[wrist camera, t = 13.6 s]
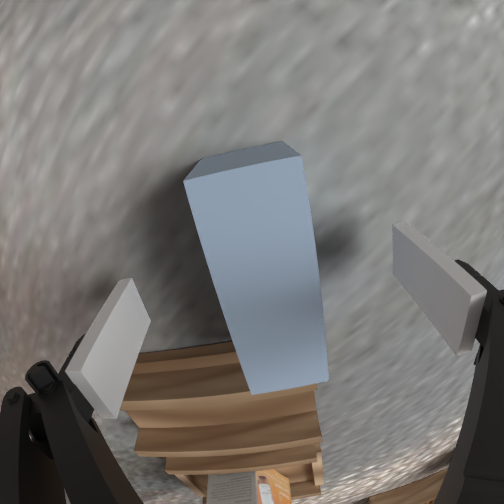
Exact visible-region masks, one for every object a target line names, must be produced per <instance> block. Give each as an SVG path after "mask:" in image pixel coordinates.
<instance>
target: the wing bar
mask: <svg viewBox="0 0 504 504" xmlns="http://www.w3.org/2000/svg"><path fill="white" fill-rule="evenodd" d="M183 183H184V186H185V190H186V193H187V197H188V201H189V204H190V208H191V211H192V214H193V218H194V221H195V225H196V228H197V231H198V235H199V238H200V241H201V245H202V248H203V251H204V255H205V258H206V261H207V264H208V268H209V271H210V274H211V277H212V280H213V283H214V287H215V290H216V293H217V296H218V299H219V302H220V305H221V308H222V311H223V314H224V317H225V320H226V323H227V326H228V329H229V332H230V335H231V338H232V341H233V344H234V347H235V350H236V353H237V356H238V358H239V361H240V364H241V367H242V370H243V373H244V375H245V378H246V381H247V384H248V387H249V389H250V392H251V395H255V394H262V393H268V392H274V391H280V390H285V389H290V388H296V387H301V386H306V385H310V384H315V383H320V382H324V381H329V376H328V362H327V349H326V337H325V326H324V316H323V306H322V296H321V287H320V278H319V270H318V262H317V254H316V246H315V239H314V232H313V224H312V218H311V211H310V204H309V198H308V191H307V185H306V179H305V173H304V167H303V162H302V156H301V155H300V154H299V153H298V152H296V151H295V150H294V149H292V148H291V147H290V146H288V145H287V144H286V143H284V142H283V141H282V142H277V143H271V144H266V145H261V146H256V147H251V148H247V149H242V150H237V151H233V152H228V153H224V154H220V155H215V156H211V157H207V158H203V159H201V160H200V161H199V162H198V163H197V164H196V166H195V167H194V168H193V169H192V171H191V172H190V173H189V174H188V175H187V177H186V178H185V179H184V181H183Z"/></svg>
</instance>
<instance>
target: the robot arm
mask: <svg viewBox="0 0 504 504" xmlns="http://www.w3.org/2000/svg"><path fill="white" fill-rule="evenodd" d="M392 232H393V274H394V275H395V277H396V278H397V279H398V280H399V281H400V283H401V284H402V285H403V286H404V287H405V289H406V290H407V291H408V292H409V294H410V295H411V296H412V297H413V299H414V300H415V301H416V302H417V304H418V305H419V306H420V308H421V309H422V310H423V311H424V313H425V314H426V315H427V317H428V318H429V319H430V321H431V322H432V323H433V325H434V326H435V327H436V329H437V330H438V331H439V333H440V334H441V335H442V337H443V338H444V339H445V341H446V342H447V343H448V345H449V346H450V348H451V349H452V350H453V352H454V353H455V355H456V356H459V355H461V354H463V353H466V352H468V351H470V350H472V347H473V344H474V341H475V338H476V339H477V340H478V342H479V343H480V347H479V350H478V353H477V356H476V359H475V361H474V364H473V365H476V367H475V373H474V378H473V383H472V388H471V392H470V397H469V401H468V405H467V409H466V413H465V417H464V421H463V424H462V428H461V431H460V435H459V438H458V441H457V444H456V447H455V450H454V453H453V456H452V459H451V462H450V465H449V467H448V470H447V473H446V475H445V478H444V480H443V483H442V485H441V488H440V490H439V492H438V495H437V497H436V499H435V501H434V503H433V504H504V290H500V291H499V290H497V289H496V288H495V287H494V286H493V285H492V284H491V283H490V282H488V281H487V280H486V279H485V278H484V277H483V276H481V275H480V274H479V273H478V272H477V271H475V269H473V268H472V267H471V266H470V265H469V264H467V263H465V262H463V261H460V260H455V261H454V260H453V259H451V258H450V257H449V256H448V255H447V254H445V253H444V252H443V251H442V250H441V249H439V248H438V247H437V246H436V245H434V244H433V243H432V242H431V241H429V240H428V239H427V238H426V237H424V236H423V235H422V234H421V233H419V232H418V231H417V230H415V229H414V228H413V227H412V226H410V225H409V224H408V223H406V222H402V223H397V224H392ZM150 322H151V320H150V318H149V316H148V314H147V311H146V309H145V307H144V305H143V302H142V300H141V298H140V295H139V293H138V291H137V288H136V286H135V284H134V281H133V279H132V278H127V279H122V280H119V281H118V283H117V284H116V286H115V287H114V289H113V291H112V292H111V294H110V295H109V297H108V298H107V300H106V302H105V303H104V305H103V306H102V308H101V310H100V311H99V313H98V314H97V316H96V318H95V319H94V321H93V323H92V324H91V326H90V328H89V329H88V331H87V333H86V334H84V335H83V336H82V337H81V338H80V339H79V340H78V341H77V342H76V344H75V345H74V347H73V349H72V351H71V352H70V354H69V357H67V359H66V361H65V363H64V365H63V366H62V368H61V370H60V372H59V374H58V373H57V372H56V370H55V369H54V368H53V366H52V365H51V363H50V362H49V361H46V360H44V361H40V362H38V363H36V364H34V365H33V366H32V367H31V368H30V369H29V370H28V371H27V373H26V376H25V380H26V381H27V382H28V384H29V385H30V386H31V388H32V389H33V390H34V391H35V393H33V394H29V395H27V393H26V392H25V391H24V390H23V388H22V387H14V388H13V389H10V390H9V391H8V392H7V393H6V395H5V396H4V398H3V401H2V406H1V412H0V504H66V499H65V492H64V488H65V491H66V493H67V495H68V498H69V500H70V503H71V504H143V502H142V501H141V499H140V498H139V496H138V495H137V493H136V492H135V490H134V489H133V487H132V486H131V484H130V482H129V481H128V479H127V478H126V476H125V474H124V473H123V471H122V469H121V468H120V466H119V464H118V463H117V461H116V459H115V457H114V456H113V454H112V452H111V450H110V448H109V447H108V445H107V443H106V441H105V439H104V437H103V435H102V433H101V431H100V429H99V427H98V425H97V423H96V421H95V420H94V419H93V418H92V417H91V416H92V413H93V411H94V410H95V411H96V413H97V414H98V415H99V416H100V417H101V418H103V419H117V416H118V413H119V410H120V407H121V404H122V401H123V398H124V395H125V392H126V389H127V386H128V383H129V380H130V377H131V374H132V371H133V368H134V366H135V363H136V360H137V357H138V354H139V352H140V349H141V346H142V343H143V341H144V338H145V335H146V333H147V330H148V327H149V325H150ZM29 435H30V436H31V437H32V438H31V439H30V437H29Z"/></svg>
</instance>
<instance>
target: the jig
mask: <svg viewBox="0 0 504 504" xmlns="http://www.w3.org/2000/svg"><path fill="white" fill-rule="evenodd" d="M314 390H317V383H315V384H310V385H306V386H301V387H296V388H290V389H285V390H280V391H274V392H268V393H262V394H255V395H251V392H250V389H249V387H248V384H247V381H246V378H245V375H244V373H243V370H242V367H241V364H240V361H239V358H238V356H237V353H236V350H235V347H234V344H233V341H232V342H226V343H219V344H213V345H206V346H199V347H191V348H184V349H176V350H167V351H159V352H149V353H139V354H138V357H137V360H136V363H135V366H134V368H133V371H132V374H131V377H130V380H129V383H128V386H127V389H126V392H125V395H124V398H123V401H122V404H121V407H120V410H125V411H126V412H127V413H128V415H129V416H130V417H131V418H132V420H133V421H134V422H135V423H136V424H137V426H138V427H139V432H138V436H137V440H136V444H135V449H134V451H135V452H136V453H137V454H138V455H139V456H146V457H166V464H165V471H166V472H167V473H168V474H174V475H175V476H176V477H177V478H179V479H180V480H181V481H182V482H183V483H184V484H185V485H186V486H187V487H188V488H190V489H191V490H192V491H193V492H194V493H195V494H197V495H198V496H199V497H203V504H206V501H207V485H208V474H227V473H241V472H252V471H262V470H270V469H274V470H276V471H277V472H278V473H280V474H281V475H283V476H285V477H287V478H288V479H289V484H290V493H291V499H298V498H304V497H310V496H315V495H321V490H320V485H323V484H324V479H323V466H322V454H321V448H320V442H322V435H321V431H320V426H319V421H318V416H317V412H316V404H315V395H314Z"/></svg>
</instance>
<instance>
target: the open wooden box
mask: <svg viewBox="0 0 504 504" xmlns="http://www.w3.org/2000/svg"><path fill="white" fill-rule="evenodd" d="M447 470H448V468H447V469H444V470H442V471H440V472H438V473H435V474H433V475H431V476H428V477H426V478H423V479H421V480H418V481H416V482H413V483H410V484H408V485H405V486H402V487H399V488H396V489H393V490H390V491H387V492H384V493H381V494H378V495H374V496H371V497H369V500H368V502H367V504H424V503H426V502H429V501H431V500H433V499H436V497H437V495H438V492H439V490H440V488H441V485H442V483H443V480H444V478H445V475H446V473H447Z"/></svg>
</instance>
